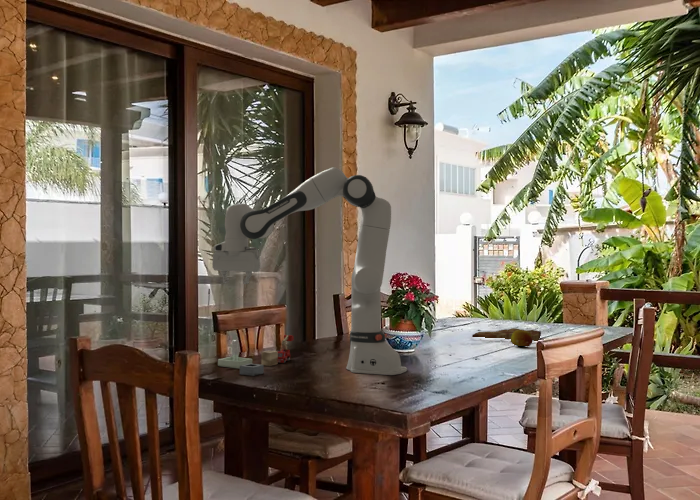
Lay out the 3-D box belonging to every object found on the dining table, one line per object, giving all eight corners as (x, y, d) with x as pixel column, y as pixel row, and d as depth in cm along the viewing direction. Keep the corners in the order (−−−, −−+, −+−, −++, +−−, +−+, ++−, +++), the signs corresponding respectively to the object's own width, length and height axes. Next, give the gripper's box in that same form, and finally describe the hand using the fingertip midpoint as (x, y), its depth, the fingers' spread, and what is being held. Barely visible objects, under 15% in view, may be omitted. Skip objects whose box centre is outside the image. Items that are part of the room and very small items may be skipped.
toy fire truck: (275, 363, 271) (275, 338, 271) (285, 357, 285) (285, 334, 285) (283, 363, 271) (283, 338, 271) (293, 358, 284) (293, 334, 284)
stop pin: (239, 364, 265) (239, 340, 265) (235, 364, 263) (235, 341, 263) (234, 363, 266) (234, 339, 266) (230, 364, 264) (230, 340, 264)
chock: (277, 364, 270) (277, 351, 270) (269, 366, 265) (270, 352, 265) (269, 363, 272) (269, 350, 272) (261, 365, 267) (261, 352, 267)
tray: (252, 365, 266) (252, 358, 266) (239, 368, 258) (239, 361, 258) (231, 363, 270) (231, 356, 270) (217, 366, 263) (217, 359, 263)
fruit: (534, 347, 323) (535, 330, 323) (528, 349, 316) (528, 331, 316) (514, 345, 329) (514, 328, 329) (508, 347, 321) (508, 330, 321)
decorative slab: (542, 339, 356) (542, 329, 356) (537, 344, 336) (538, 334, 336) (478, 335, 368) (478, 326, 368) (470, 340, 347) (470, 330, 347)
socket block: (263, 373, 250) (263, 364, 250) (253, 375, 244) (253, 367, 244) (249, 371, 253) (249, 363, 253) (239, 374, 247) (239, 365, 247)
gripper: (264, 247, 262) (263, 284, 262) (220, 246, 272) (220, 282, 272) (253, 247, 256) (253, 284, 256) (210, 246, 266) (209, 282, 266)
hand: (236, 283), depth 264 cm, fingers open, 8 cm apart
